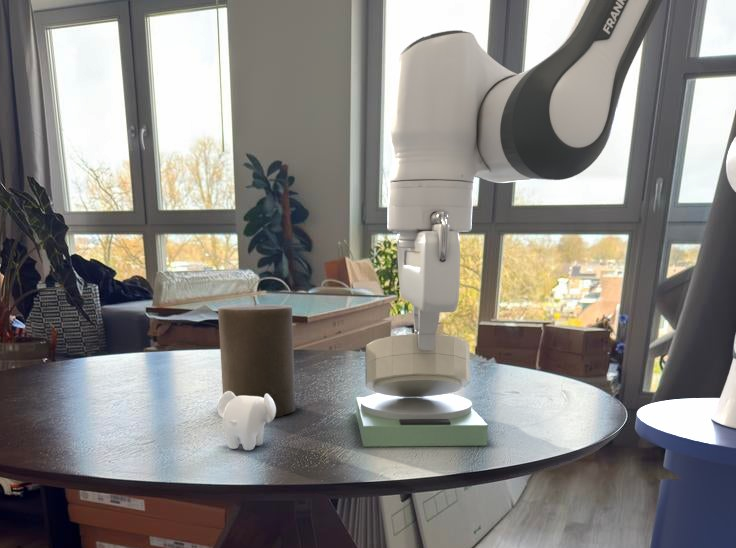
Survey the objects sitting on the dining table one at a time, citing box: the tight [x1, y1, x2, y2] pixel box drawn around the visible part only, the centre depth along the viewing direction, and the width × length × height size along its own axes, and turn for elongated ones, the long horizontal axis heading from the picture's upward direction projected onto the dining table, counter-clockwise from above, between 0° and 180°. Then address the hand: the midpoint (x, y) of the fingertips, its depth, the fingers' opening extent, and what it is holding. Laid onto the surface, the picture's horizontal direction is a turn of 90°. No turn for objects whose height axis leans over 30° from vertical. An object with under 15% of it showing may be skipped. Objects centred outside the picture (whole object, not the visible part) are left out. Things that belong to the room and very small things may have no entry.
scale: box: [355, 393, 489, 448], centre depth 88 cm, size 14×16×3 cm
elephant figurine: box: [216, 391, 276, 451], centre depth 80 cm, size 7×8×6 cm
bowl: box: [364, 333, 471, 397], centre depth 86 cm, size 12×12×5 cm
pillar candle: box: [217, 295, 296, 418], centre depth 96 cm, size 10×10×15 cm
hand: (424, 347), depth 81 cm, fingers closed on bowl
